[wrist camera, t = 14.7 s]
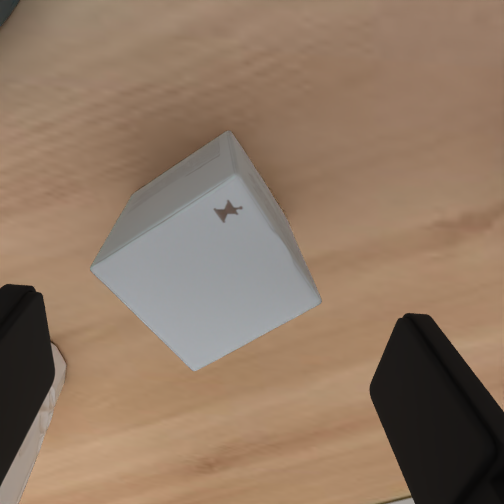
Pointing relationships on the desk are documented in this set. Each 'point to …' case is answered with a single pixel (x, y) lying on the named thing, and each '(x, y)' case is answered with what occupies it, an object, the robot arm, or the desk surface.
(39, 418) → the white cup
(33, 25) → the desk surface
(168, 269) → the product box
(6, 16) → the pot
